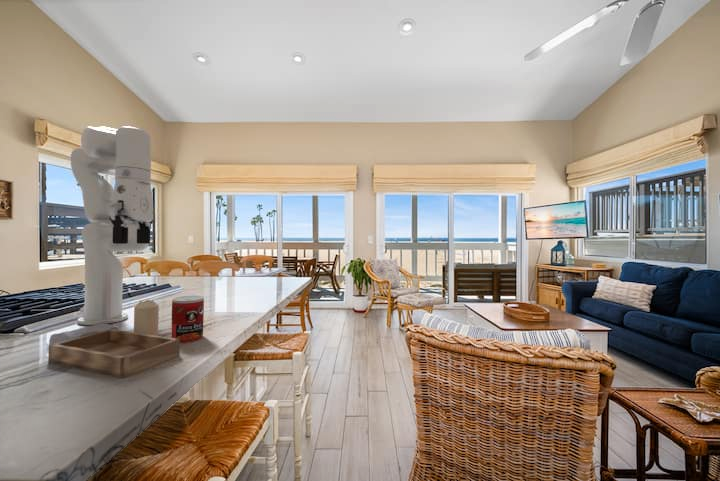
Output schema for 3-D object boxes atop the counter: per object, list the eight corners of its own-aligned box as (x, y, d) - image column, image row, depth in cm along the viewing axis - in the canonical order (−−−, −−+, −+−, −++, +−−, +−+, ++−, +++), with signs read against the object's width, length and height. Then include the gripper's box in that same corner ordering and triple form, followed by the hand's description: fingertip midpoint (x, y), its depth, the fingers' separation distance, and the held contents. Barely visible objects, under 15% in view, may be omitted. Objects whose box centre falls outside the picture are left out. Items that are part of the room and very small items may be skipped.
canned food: (174, 345, 81) (175, 302, 81) (168, 337, 87) (169, 297, 87) (206, 339, 86) (207, 298, 86) (198, 332, 92) (199, 294, 92)
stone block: (43, 355, 78) (76, 351, 76) (41, 335, 78) (74, 330, 76) (93, 342, 89) (122, 337, 87) (91, 324, 90) (120, 320, 88)
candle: (131, 341, 83) (132, 303, 83) (136, 335, 88) (137, 299, 88) (156, 339, 85) (156, 302, 85) (159, 333, 90) (160, 298, 90)
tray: (48, 362, 69) (48, 345, 69) (111, 344, 81) (111, 329, 81) (123, 378, 62) (124, 358, 62) (179, 355, 74) (179, 339, 74)
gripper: (128, 170, 74) (127, 243, 74) (165, 183, 91) (164, 243, 91) (93, 169, 73) (92, 243, 73) (137, 183, 91) (136, 243, 91)
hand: (132, 243), depth 82 cm, fingers open, 9 cm apart
